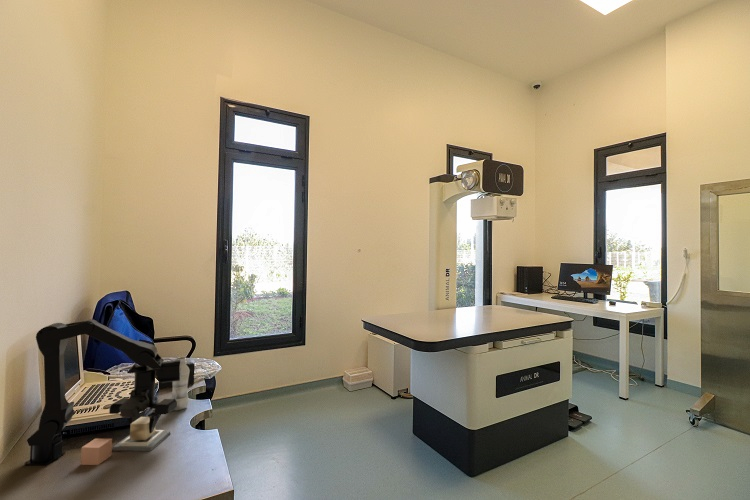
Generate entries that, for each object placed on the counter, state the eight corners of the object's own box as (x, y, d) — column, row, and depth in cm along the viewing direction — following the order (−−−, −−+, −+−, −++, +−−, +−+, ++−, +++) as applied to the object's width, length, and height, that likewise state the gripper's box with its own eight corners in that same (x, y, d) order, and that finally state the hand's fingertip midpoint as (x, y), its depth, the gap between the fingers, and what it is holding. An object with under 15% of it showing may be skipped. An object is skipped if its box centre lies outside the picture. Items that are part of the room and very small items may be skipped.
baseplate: (112, 450, 106) (112, 444, 106) (134, 434, 116) (134, 428, 116) (151, 450, 106) (151, 444, 107) (170, 434, 116) (170, 429, 117)
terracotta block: (80, 464, 99) (81, 447, 99) (94, 455, 104) (95, 438, 104) (98, 465, 99) (98, 447, 99) (111, 455, 104) (112, 438, 104)
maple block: (129, 439, 109) (130, 423, 109) (140, 431, 114) (140, 416, 114) (145, 439, 109) (146, 424, 109) (155, 432, 114) (156, 416, 114)
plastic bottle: (167, 413, 132) (169, 361, 133) (172, 406, 139) (174, 356, 139) (186, 411, 134) (187, 360, 135) (190, 404, 140) (192, 355, 141)
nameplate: (193, 383, 165) (194, 362, 165) (193, 384, 163) (194, 363, 164) (141, 391, 154) (142, 368, 154) (141, 392, 153) (142, 370, 153)
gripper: (96, 393, 104) (94, 445, 103) (158, 394, 104) (156, 446, 104) (123, 380, 115) (121, 427, 114) (178, 381, 115) (176, 428, 115)
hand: (142, 432), depth 111 cm, fingers closed on maple block, 5 cm apart
